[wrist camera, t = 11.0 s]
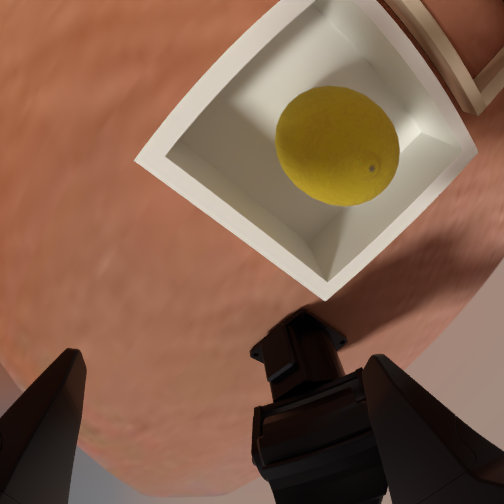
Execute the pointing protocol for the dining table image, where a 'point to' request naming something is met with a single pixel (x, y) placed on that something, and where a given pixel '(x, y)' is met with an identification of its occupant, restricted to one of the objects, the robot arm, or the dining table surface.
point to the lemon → (337, 145)
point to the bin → (264, 129)
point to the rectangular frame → (451, 59)
